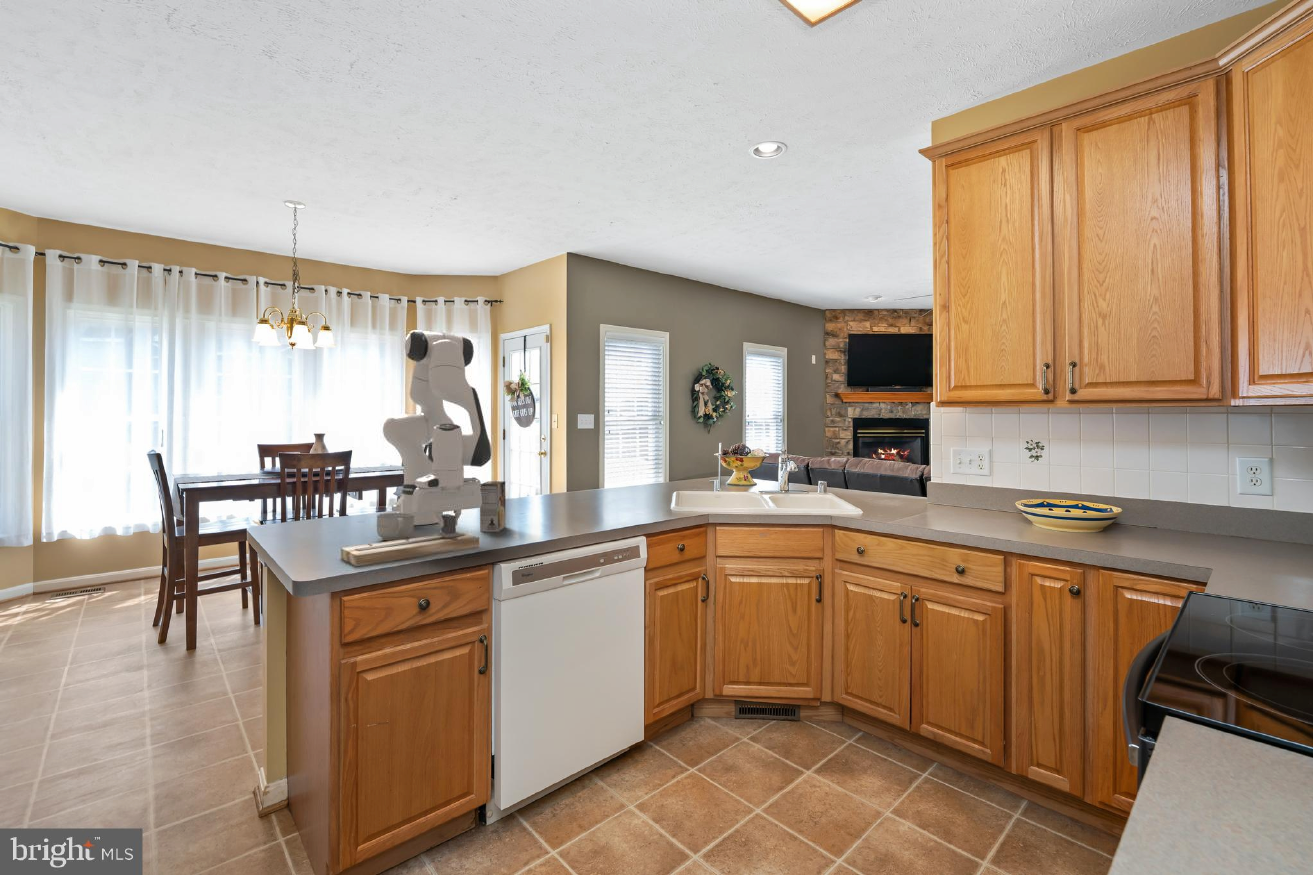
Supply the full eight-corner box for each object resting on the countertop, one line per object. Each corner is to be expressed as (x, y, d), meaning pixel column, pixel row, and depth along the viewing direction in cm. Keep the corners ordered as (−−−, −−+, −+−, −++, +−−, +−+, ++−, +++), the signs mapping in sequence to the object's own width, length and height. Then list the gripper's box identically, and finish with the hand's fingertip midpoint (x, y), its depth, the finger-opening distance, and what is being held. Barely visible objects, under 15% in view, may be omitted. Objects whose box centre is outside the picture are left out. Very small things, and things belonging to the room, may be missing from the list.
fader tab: (438, 535, 178) (438, 515, 177) (451, 533, 180) (451, 513, 180) (445, 537, 174) (445, 517, 174) (458, 535, 177) (458, 515, 177)
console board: (341, 558, 162) (341, 546, 162) (459, 540, 186) (459, 530, 186) (356, 566, 154) (356, 554, 154) (479, 546, 178) (479, 536, 178)
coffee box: (487, 526, 210) (487, 480, 209) (506, 527, 210) (505, 481, 209) (479, 531, 201) (479, 483, 200) (498, 532, 201) (498, 484, 200)
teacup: (377, 537, 191) (377, 512, 190) (414, 535, 195) (414, 510, 195) (375, 546, 178) (375, 519, 178) (415, 543, 182) (415, 517, 182)
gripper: (475, 476, 186) (475, 520, 187) (409, 480, 172) (409, 529, 172) (485, 477, 182) (485, 523, 182) (418, 482, 167) (419, 532, 168)
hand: (448, 526), depth 177 cm, fingers closed on fader tab, 2 cm apart
